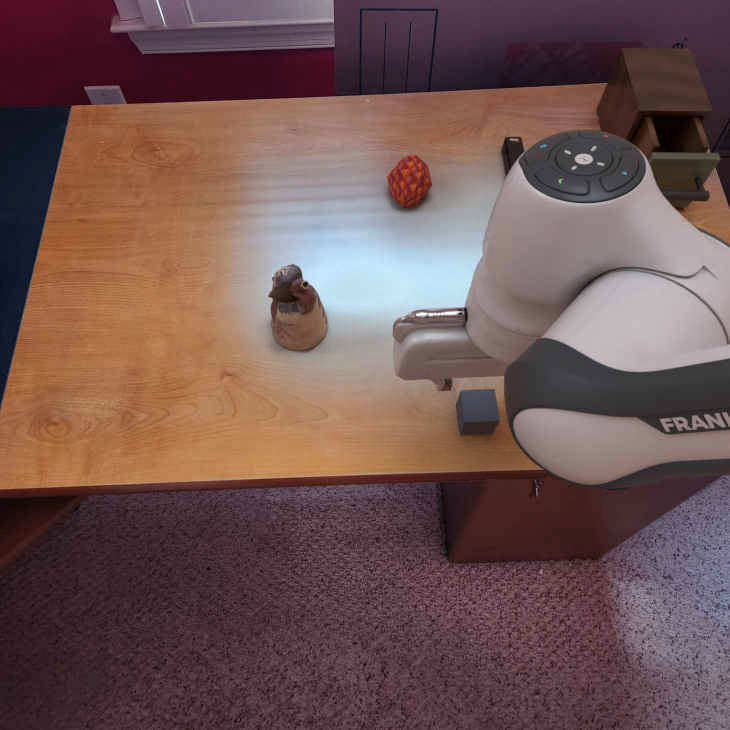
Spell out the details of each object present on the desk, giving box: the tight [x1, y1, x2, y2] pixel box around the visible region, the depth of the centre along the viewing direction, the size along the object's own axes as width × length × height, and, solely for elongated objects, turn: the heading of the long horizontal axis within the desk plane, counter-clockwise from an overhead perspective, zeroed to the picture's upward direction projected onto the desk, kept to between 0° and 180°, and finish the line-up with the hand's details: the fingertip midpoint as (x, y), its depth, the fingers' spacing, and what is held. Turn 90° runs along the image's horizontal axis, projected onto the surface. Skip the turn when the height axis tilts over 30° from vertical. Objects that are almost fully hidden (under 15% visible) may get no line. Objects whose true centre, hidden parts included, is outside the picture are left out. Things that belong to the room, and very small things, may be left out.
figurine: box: [267, 263, 329, 351], centre depth 70 cm, size 7×7×12 cm
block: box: [455, 388, 501, 436], centre depth 67 cm, size 4×4×4 cm
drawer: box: [630, 115, 721, 208], centre depth 82 cm, size 16×9×9 cm, turn 178°
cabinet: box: [596, 47, 714, 142], centre depth 87 cm, size 14×10×11 cm
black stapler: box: [501, 136, 525, 178], centre depth 85 cm, size 18×3×3 cm, turn 0°
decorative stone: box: [386, 154, 433, 208], centre depth 84 cm, size 6×7×8 cm
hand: (487, 382), depth 60 cm, fingers open, 8 cm apart
